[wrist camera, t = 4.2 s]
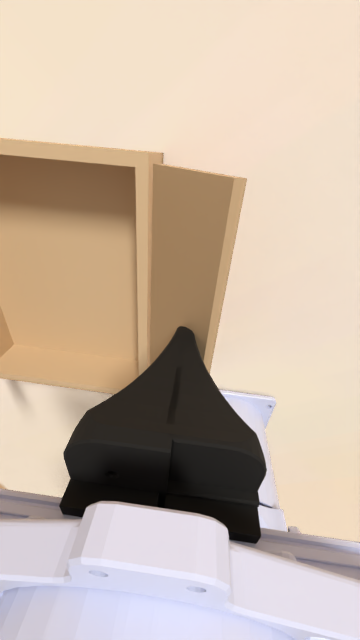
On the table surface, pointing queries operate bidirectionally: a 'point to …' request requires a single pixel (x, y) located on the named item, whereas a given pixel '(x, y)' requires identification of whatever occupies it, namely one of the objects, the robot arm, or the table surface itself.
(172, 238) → the flap
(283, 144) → the table surface
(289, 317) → the table surface
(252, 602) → the robot arm
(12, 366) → the carton
